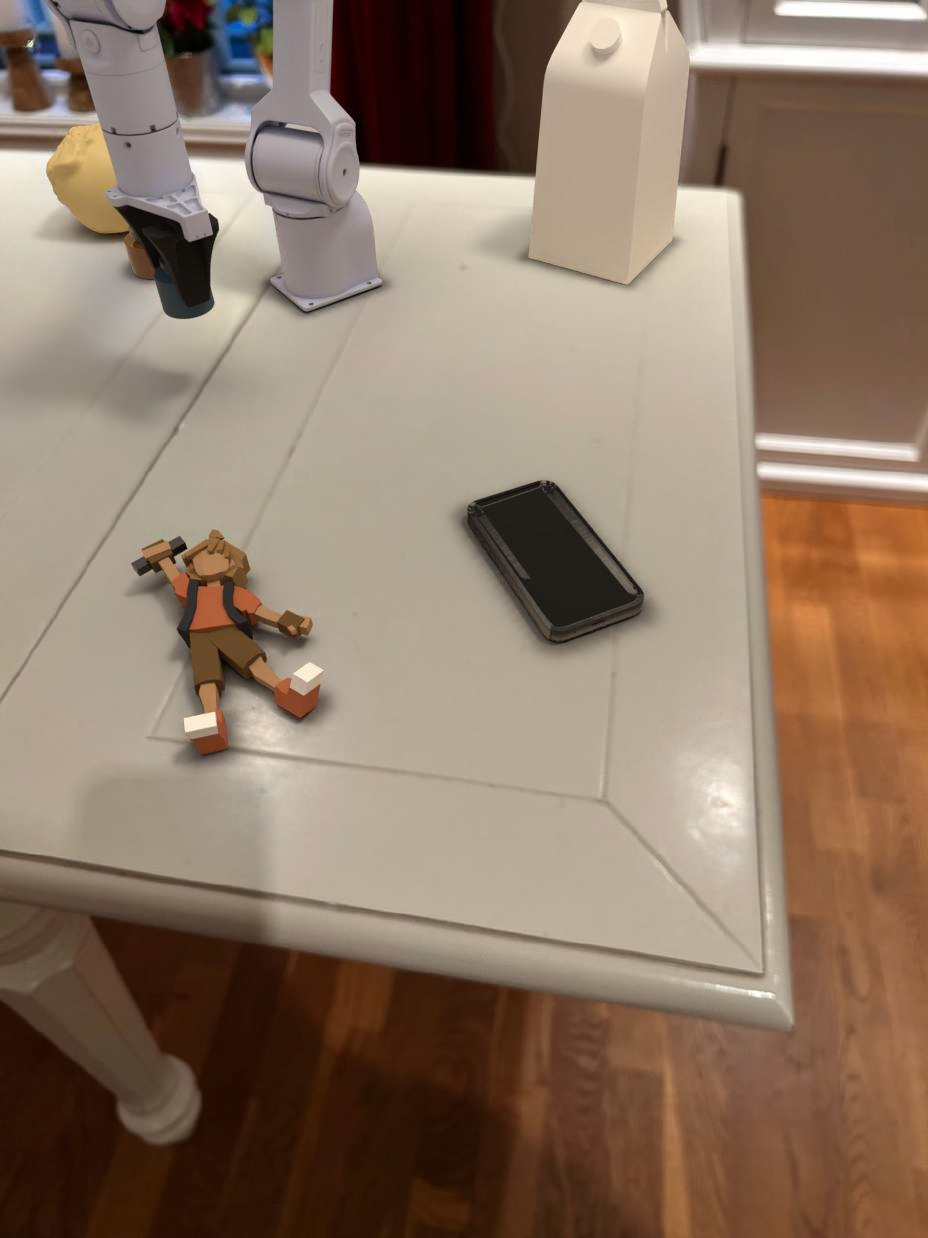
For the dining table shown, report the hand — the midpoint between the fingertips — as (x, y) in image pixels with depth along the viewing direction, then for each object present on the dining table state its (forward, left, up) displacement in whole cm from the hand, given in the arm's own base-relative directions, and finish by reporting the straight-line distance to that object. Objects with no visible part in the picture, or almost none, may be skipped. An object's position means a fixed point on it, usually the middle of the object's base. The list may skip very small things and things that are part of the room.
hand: (185, 290), depth 78 cm
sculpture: (-6, -38, -10) cm, 39 cm away
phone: (-10, +37, -9) cm, 40 cm away
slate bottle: (0, 0, -1) cm, 1 cm away
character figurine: (+13, +30, -10) cm, 34 cm away
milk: (-46, +2, -10) cm, 47 cm away
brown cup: (-5, -25, -9) cm, 27 cm away
